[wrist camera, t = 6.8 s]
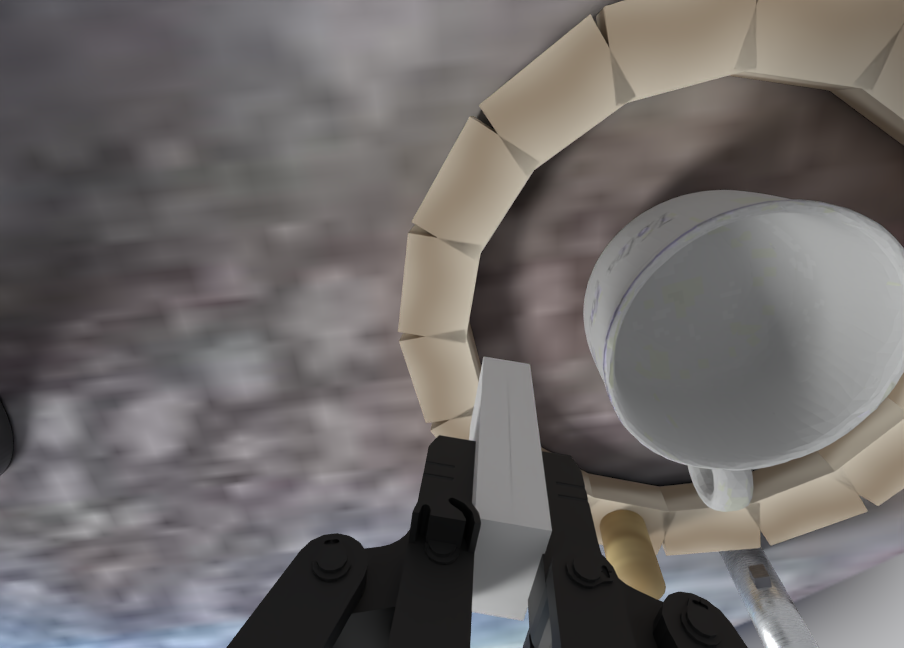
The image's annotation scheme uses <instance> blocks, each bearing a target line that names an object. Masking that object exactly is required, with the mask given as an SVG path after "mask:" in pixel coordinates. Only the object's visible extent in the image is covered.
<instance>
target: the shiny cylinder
mask: <svg viewBox="0 0 904 648" xmlns="http://www.w3.org/2000/svg"><path fill="white" fill-rule="evenodd" d="M719 553H720V555H721V557H722V559H723V561H724V563H725V565H726V567H727V569H728V571H729V574H730V576H731V578H732V580H733V582H734V584H735V586H736V588H737V590H738V592H739V595H740V597H741V599H742V601H743V603H744V605H745V607H746V609H747V611H748V613H749V616H750V618H751V620H752V622H753V624H754V626H755V628H756V630H757V632H758V634H759V636H760V639H761V641H762V643H763V645H764V647H765V648H819V646H818V644H817V643H816V641H815V639H814V638H813V636H812V634H811V633H810V631H809V629H808V627H807V626H806V624H805V622H804V620H803V619H802V617H801V615H800V613H799V612H798V610H797V608H796V606H795V605H794V603H793V601H792V600H791V598H790V596H789V594H788V593H787V591H786V589H785V587H784V586H783V584H782V582H781V580H780V579H779V577H778V575H777V574H776V572H775V570H774V568H773V567H772V565H771V563H770V561H769V560H768V558H767V556H766V555H765V553H764V551H763V549H762V548H761V546H760V548H754V549H741V550H729V551H719Z"/></svg>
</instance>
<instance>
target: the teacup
mask: <svg viewBox="0 0 904 648" xmlns="http://www.w3.org/2000/svg"><path fill="white" fill-rule="evenodd" d="M584 326H585V333H586V338H587V342H588V345H589V348H590V351H591V354H592V356H593V359H594V362H595V364H596V366H597V368H598V370H599V373H600V375H601V377H602V379H603V381H604V383H605V386H606V390H607V394H608V396H609V399H610V401H611V404H612V406H613V408H614V410H615V412H616V414H617V416H618V418H619V420H620V421H621V423H622V424H623V425H624V427H625V428H626V429H627V430H628V431H629V432H630V433H631V434H632V435H633V436H634V437H635V438H637V439H638V440H639V442H640V443H641V444H643V445H644V446H646V447H647V448H648V449H650V450H651V451H653V452H654V453H656V454H659V455H661V456H663V457H664V458H666V459H668V460H671V461H674V462H677V463H680V464H684V465H688V470H689V473H690V476H691V479H692V482H693V485H694V487H695V489H696V491H697V493H698V495H699V497H700V498H701V499H702V501H703V502H704V503H705V504H706V505H707V506H708V507H709V508H712V509H714V510H716V511H722V512H729V511H737V510H741V509H743V508H745V507H747V506H748V505H749V503H750V501H751V499H752V496H753V488H754V487H753V475H752V471H751V469H759V468H766V467H770V466H774V465H777V464H781V463H785V462H788V461H790V460H792V459H796V458H800V457H803V456H806V455H808V454H810V453H813V452H815V451H818V450H820V449H822V448H824V447H826V446H828V445H830V444H831V443H833V442H835V441H836V440H838V439H839V438H841V437H842V436H844V435H846V434H847V433H848V432H850V431H851V430H852V429H854V428H855V427H856V426H857V425H859V424H860V423H861V422H862V421H863V420H864V419H865V418H866V417H868V416H869V415H870V414H871V413H872V412H873V411H875V410H876V409H877V408H878V406H879V405H880V404H881V403H882V402H883V401H884V400H885V398H886V397H887V396H888V395H889V394H890V392H891V391H892V390H893V388H894V387H895V386H896V384H897V383H898V381H899V379H900V377H901V376H902V374H903V373H904V248H903V247H902V246H901V244H900V243H899V242H898V241H897V240H896V238H895V237H894V236H893V235H892V234H891V233H890V232H888V231H887V230H886V229H885V228H884V227H883V226H882V225H880V224H879V223H877V222H875V221H873V220H872V219H870V218H868V217H866V216H864V215H862V214H860V213H857V212H855V211H853V210H851V209H849V208H845V207H839V206H836V205H833V204H829V203H825V202H821V201H811V200H801V199H798V200H792V199H788V198H783V197H778V196H772V195H767V194H762V193H755V192H747V191H736V190H712V191H702V192H696V193H691V194H686V195H682V196H679V197H676V198H673V199H671V200H668V201H665V202H663V203H660V204H658V205H656V206H655V207H653V208H651V209H649V210H647V211H645V212H644V213H642V214H640V215H639V216H638V217H636V218H635V219H634V220H632V221H631V222H630V223H628V224H627V225H626V226H625V227H624V228H623V229H622V230H621V231H620V232H619V233H618V234H617V235H616V236H615V237H614V238H613V239H612V240H611V242H610V243H609V244H608V245H607V246H606V248H605V249H604V251H603V252H602V254H601V256H600V257H599V259H598V261H597V263H596V264H595V266H594V268H593V271H592V274H591V276H590V279H589V282H588V285H587V289H586V294H585V299H584Z"/></svg>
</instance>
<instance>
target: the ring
mask: <svg viewBox="0 0 904 648" xmlns="http://www.w3.org/2000/svg"><path fill="white" fill-rule="evenodd" d="M596 20H597V25H596V23H595V22H594V20H593V18H592V16H591V14H590V15H589V16H588V17H586V18H585V19H584V20H583V21H581V22H580V23H579V24H578V25H577V26H575V27H574V28H573V29H572V30H570V31H569V32H568V33H567V34H565V35H564V36H563V37H562V38H561V39H559V40H558V41H557V42H556V43H554V44H553V45H552V46H551V47H550V48H548V49H547V50H546V51H545V52H543V53H542V54H541V55H540V56H539V57H537V58H536V59H535V60H534V61H532V62H531V63H530V64H529V65H528V66H526V67H525V68H524V69H523V70H521V71H520V72H519V73H518V74H517V75H515V76H514V77H513V78H512V79H510V80H509V81H508V82H507V83H506V84H504V85H503V86H502V87H501V88H499V89H498V90H497V91H496V92H495V93H493V94H492V95H491V96H490V97H488V98H487V99H486V100H485V101H484V102H482V103H481V104H480V105H479V106H480V108H481V109H482V111H483V112H484V114H485V115H486V117H487V118H488V120H489V121H490V123H491V124H492V126H493V127H494V129H495V130H496V131H495V130H494V129H492V128H491V127H489V126H488V125H486V124H485V123H483V122H482V121H480V120H479V119H477V118H475V117H474V116H470V117H469V119H468V121H467V122H466V124H465V126H464V128H463V130H462V131H461V133H460V135H459V137H458V139H457V141H456V142H455V144H454V146H453V148H452V150H451V151H450V153H449V155H448V157H447V159H446V160H445V162H444V164H443V166H442V168H441V169H440V171H439V173H438V175H437V177H436V179H435V180H434V182H433V184H432V186H431V188H430V189H429V191H428V193H427V195H426V197H425V198H424V200H423V202H422V204H421V206H420V208H419V209H418V211H417V213H416V215H415V217H414V218H413V220H412V222H413V223H414V224H415V225H414V227H413V228H412V229H411V230H410V231H409V233H408V239H407V249H406V259H405V269H404V278H403V288H402V298H401V308H400V318H399V328H398V332H403V334H402V337H401V339H400V341H399V342H400V345H401V349H402V352H403V355H404V358H405V361H406V364H407V367H408V370H409V373H410V376H411V379H412V382H413V385H414V388H415V391H416V394H417V397H418V400H419V403H420V406H421V409H422V412H423V415H424V418H425V421H426V423H430V422H432V426H431V432H432V433H433V434H434V435H435V436H436V438H437V437H438V436H439V435H442V436H448V437H454V438H460V439H466V440H469V435H470V424H471V419H472V414H473V409H474V403H475V398H476V393H477V388H478V382H479V377H480V372H481V363H480V360H479V356H478V352H477V348H476V344H475V341H474V337H473V333H472V329H471V325H470V322H469V319H470V313H471V308H472V302H473V296H474V290H475V284H476V278H477V272H478V267H479V261H480V255H481V252H482V250H483V249H484V247H485V246H486V244H487V243H488V241H489V240H490V238H491V236H492V235H493V233H494V232H495V230H496V229H497V227H498V225H499V224H500V222H501V221H502V219H503V218H504V216H505V215H506V213H507V211H508V210H509V208H510V207H511V205H512V204H513V202H514V201H515V199H516V197H517V196H518V194H519V193H520V191H521V190H522V188H523V187H524V185H525V183H526V182H527V180H528V179H529V177H530V176H531V174H532V173H533V171H534V170H535V169H536V168H538V167H539V166H540V165H542V164H543V163H545V162H546V161H547V160H549V159H550V158H551V157H553V156H554V155H556V154H557V153H558V152H560V151H561V150H562V149H564V148H565V147H567V146H568V145H569V144H571V143H572V142H573V141H575V140H576V139H578V138H579V137H580V136H582V135H583V134H584V133H586V132H587V131H588V130H590V129H591V128H593V127H594V126H595V125H597V124H598V123H599V122H601V121H602V120H604V119H605V118H606V117H608V116H609V115H610V114H612V113H613V112H615V111H616V110H617V109H619V108H620V107H621V106H623V105H624V104H626V103H628V102H632V101H636V100H639V99H643V98H647V97H650V96H654V95H658V94H662V93H665V92H669V91H673V90H677V89H680V88H684V87H688V86H691V85H695V84H699V83H703V82H706V81H710V80H714V79H718V78H721V77H725V76H735V77H741V78H748V79H755V80H762V81H768V82H775V83H782V84H789V85H795V86H802V87H809V88H816V89H822V90H829V91H831V92H832V93H833V94H835V95H836V96H837V97H839V98H840V99H841V100H843V101H844V102H845V103H847V104H848V105H850V106H851V107H852V108H854V109H855V110H856V111H858V112H859V113H860V114H862V115H863V116H864V117H866V118H867V119H868V120H870V121H871V122H872V123H874V124H875V125H877V126H878V127H879V128H881V129H882V130H883V131H885V132H886V133H887V134H889V135H890V136H891V137H893V138H894V139H895V140H897V141H898V142H899V143H901V144H902V145H904V0H624V1H621V2H617V3H614V4H611V5H608V6H605V7H604V8H603V9H602V10H601V11H600V12H599V13H598V15H597V16H596ZM541 451H544V452H549V451H547V450H545V449H544V448H542V447H541ZM550 453H551V452H550ZM580 470H581V469H580ZM581 471H582V475H583V480H584V484H585V490H586V492H587V497H588V503H589V505H590V509H591V514H592V518H593V522H594V526H595V531H596V535H597V539H598V543H599V544H601V545H603V546H604V550H605V555H606V559H607V560H608V561H609V563H610V564H611V565H612V566H613V567H614V570H615V572H616V574H617V576H618V578H619V579H620V580H622V581H623V582H624V583H625V584H627V585H629V586H631V587H632V588H634V589H636V590H638V591H640V592H642V593H644V594H646V595H649V596H651V597H653V598H655V599H657V600H658V599H660V598H661V597H662V596H663V594H664V593H665V589H666V586H665V582H664V579H663V576H662V573H661V570H660V567H659V564H658V561H657V558H656V555H657V553H658V551H659V549H660V547H661V545H663V547H664V550H665V553H666V556H668V555H680V554H693V553H705V552H717V551H729V550H741V549H754V548H760V530H761V532H762V533H763V535H764V536H765V538H766V539H767V541H768V542H769V544H770V545H771V546H772V545H774V544H777V543H780V542H783V541H786V540H789V539H791V538H794V537H797V536H800V535H803V534H806V533H808V532H811V531H814V530H817V529H820V528H823V527H825V526H828V525H831V524H834V523H837V522H839V521H842V520H845V519H848V518H851V517H854V516H856V515H859V514H862V513H865V512H868V511H867V509H866V507H865V505H864V504H863V502H862V500H861V498H860V496H859V495H861V496H862V497H864V498H865V499H867V500H869V501H870V502H872V503H874V504H875V505H877V506H879V505H881V504H882V503H883V502H885V501H886V500H888V499H889V498H891V497H892V496H893V495H895V494H896V493H898V492H899V491H901V490H902V489H903V488H904V373H903V374H902V376H901V377H900V379H899V381H898V383H897V384H896V386H895V387H894V388H893V390H892V391H891V392H890V394H889V395H888V396H887V397H886V398H885V400H884V401H883V402H882V403H881V404H880V405H879V406H878V408H877V409H876V410H875V411H873V412H872V413H871V414H870V415H869V416H868V417H866V418H865V419H864V420H863V421H862V422H861V423H860V424H859V425H857V426H856V427H855V428H854V429H852V430H851V431H850V432H848V433H847V434H846V435H844V436H842V437H841V438H839V439H838V440H836V441H835V442H833V443H831V444H830V445H828V446H826V447H824V448H822V449H820V450H818V451H815V452H813V453H810V454H808V455H806V456H803V457H800V458H796V459H792V460H790V461H788V462H785V463H781V464H777V465H774V466H770V467H766V468H760V469H758V470H755V471H753V472H752V475H753V487H754V488H753V496H752V499H751V501H750V503H749V505H748V506H747V507H745V508H743V509H741V510H737V511H729V512H722V511H716V510H714V509H712V508H709V507H708V506H707V505H706V504H705V503H704V502H703V501H702V499H701V498H700V497H699V495H698V493H697V491H696V489H695V487H694V485H693V483H688V484H679V485H670V486H661V487H658V486H653V485H647V484H642V483H637V482H631V481H626V480H620V479H615V478H610V477H604V476H599V475H594V474H588V473H586V472H584V471H583V470H581ZM858 494H859V495H858Z"/></svg>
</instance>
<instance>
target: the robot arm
mask: <svg viewBox="0 0 904 648" xmlns="http://www.w3.org/2000/svg"><path fill="white" fill-rule="evenodd" d="M12 453H13V436H12V430H11V426H10V423H9V420H8V417H7V415H6V413H5V410H4V408H3V406H2V404H1V402H0V475H1V474H2V473H3V472H4V471H5V469H6V468H7V467H8V465H9V463H10V460H11V457H12ZM527 608H528V612H529V630H528V633H527V636H526V639H525V642H524V645H523V648H747V646H746V645H745V643H744V642H743V640H742V639H741V637H740V636H739V634H738V633H737V631H736V630H735V628H734V627H733V625H732V624H731V623H730V621H729V620H728V619H727V618H726V617H725V616H724V614H723V613H722V612H721V611H720V610H719V609H718V608H716V607H715V606H714V605H712V604H711V603H710V602H708V601H707V600H705V599H703V598H701V597H699V596H697V595H694V594H692V593H685V592H676V593H673V594H670V595H668V597H667V598H666V599H665V601H664V602H662V601H659V600H657V599H655V598H653V597H651V596H649V595H646V594H644V593H642V592H640V591H638V590H636V589H634V588H632V587H631V586H629V585H627V584H625V583H624V582H623V581H622V580H620V579H619V578H618V576H617V574H616V572H615V570H614V567H613V566H612V565H611V564H610V563H609V561H608V560H607V559H606V558H605V557H604V556H603V555H602V554H601V551H600V548H599V543H598V539H597V535H596V531H595V526H594V522H593V518H592V514H591V509H590V505H589V503H588V497H587V492H586V490H585V484H584V480H583V475H582V471H581V470H580V468H579V467H578V466H577V464H576V463H575V461H574V460H573V459H572V457H571V456H568V455H562V454H556V453H550V452H544V451H541V444H540V436H539V429H538V421H537V414H536V406H535V398H534V391H533V383H532V376H531V368H530V364H526V363H520V362H514V361H508V360H502V359H496V358H490V357H484V356H483V362H482V367H481V372H480V377H479V382H478V388H477V393H476V398H475V403H474V409H473V414H472V419H471V424H470V435H469V440H466V439H460V438H454V437H448V436H442V435H439V436H438V437H437V438H436V439H435V440H434V441H433V442H432V443H431V445H430V446H429V448H428V453H427V458H426V464H425V468H424V473H423V478H422V483H421V488H420V493H419V498H418V502H417V504H416V506H415V508H414V510H413V513H412V520H411V527H410V530H409V531H408V533H407V534H406V535H405V536H404V537H402V538H401V539H400V540H398V541H396V542H394V543H392V544H390V545H386V546H381V547H374V548H366V549H364V548H363V546H362V545H361V543H360V542H358V541H357V540H355V539H354V538H352V537H350V536H347V535H342V534H338V533H337V534H328V535H323V536H320V537H318V538H316V539H314V540H312V541H310V542H309V543H308V544H307V545H306V546H305V547H304V548H303V549H301V551H300V552H299V553H298V554H297V556H296V557H295V558H294V560H293V561H292V562H291V564H290V565H289V566H288V568H287V569H286V570H285V572H284V573H283V574H282V575H281V577H280V578H279V579H278V581H277V582H276V583H275V585H274V586H273V587H272V589H271V590H270V591H269V593H268V594H267V595H266V596H265V598H264V599H263V600H262V602H261V603H260V604H259V606H258V607H257V608H256V610H255V611H254V612H253V613H252V615H251V616H250V617H249V619H248V620H247V621H246V623H245V624H244V625H243V627H242V628H241V629H240V631H239V632H238V633H237V634H236V636H235V637H234V638H233V640H232V641H231V642H230V644H229V645H228V646H227V648H470V637H471V616H472V612H475V613H481V614H487V615H492V616H498V617H504V618H509V619H515V620H521V621H523V620H524V617H525V614H526V611H527Z"/></svg>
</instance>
